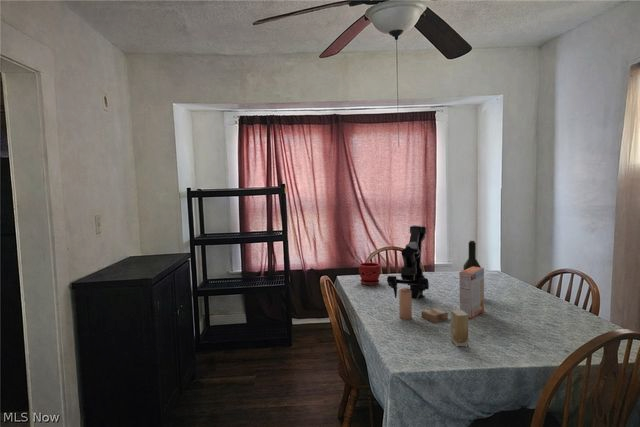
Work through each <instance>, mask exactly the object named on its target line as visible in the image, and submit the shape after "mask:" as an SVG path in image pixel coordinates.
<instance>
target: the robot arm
mask: <svg viewBox="0 0 640 427" xmlns="http://www.w3.org/2000/svg"><path fill="white" fill-rule="evenodd" d="M409 234H410V237H409V241H408V243H407V244H406V245H405V248H403V249H402V250H401V258H402V261H403V266H402V267H400V268H401V269H400V278H401V279H399V278H397V276H396V275H388V276H387V278H386V281H387V284H388V287H390V288H392V289H393V294H394V298H395V299H397V295H398V284H402V285H403V284H404V285H407V286H409V289H410V290H411V291H412V298H413V299H415V300H416V301H417V300H418V299H421V298H424V297H426V295H424V294H423V292H424V291H426V290H429V287H430V283H429V282H430V281H429V279H428V278H427V277H425V275H424V271H423V270H422V268H421V265H422V247H423V244H422V243H423V242H424V240H425V238H426V235H427V227H426V226H425V225H411V226H409Z"/></svg>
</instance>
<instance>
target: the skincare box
mask: <svg viewBox="0 0 640 427" xmlns="http://www.w3.org/2000/svg"><path fill="white" fill-rule="evenodd" d="M469 319H470V318H469V315H468V314H466V313H465V312H464V311H462V310H460V309H453V310H452V309H451V310H450V341H451V342H452V343H453V344H454V345H455V346H456V345H457V346H465V347H467V346H466V345H468V346H469V323H470V322H469ZM457 346H456V347H457Z"/></svg>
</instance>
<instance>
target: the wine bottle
mask: <svg viewBox="0 0 640 427" xmlns="http://www.w3.org/2000/svg"><path fill="white" fill-rule="evenodd" d="M476 243H477V242H475V240H469V242H468V258H467V260H466V261H465V262H464V264H463V270H466V269H468V268H470V267H480V268H482V266H481V265H480V263H479V261H478V260H477V259H476V257H477V256H476V255H477V251H476V249H477V248H476V246H477V244H476Z"/></svg>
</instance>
